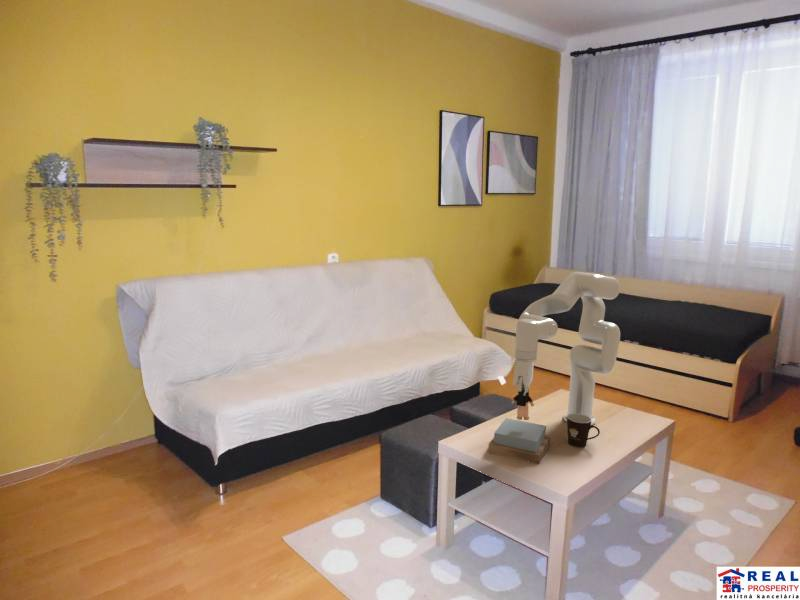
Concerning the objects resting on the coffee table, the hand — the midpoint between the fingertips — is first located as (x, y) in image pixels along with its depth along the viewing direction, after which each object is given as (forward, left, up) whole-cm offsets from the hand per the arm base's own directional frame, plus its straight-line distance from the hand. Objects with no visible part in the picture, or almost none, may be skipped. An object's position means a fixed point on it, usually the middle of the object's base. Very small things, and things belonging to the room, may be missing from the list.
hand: (522, 403), depth 198 cm
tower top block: (0, 0, -14) cm, 14 cm away
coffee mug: (-13, +19, -17) cm, 29 cm away
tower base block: (0, 0, -18) cm, 18 cm away
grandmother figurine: (0, 0, -6) cm, 6 cm away
